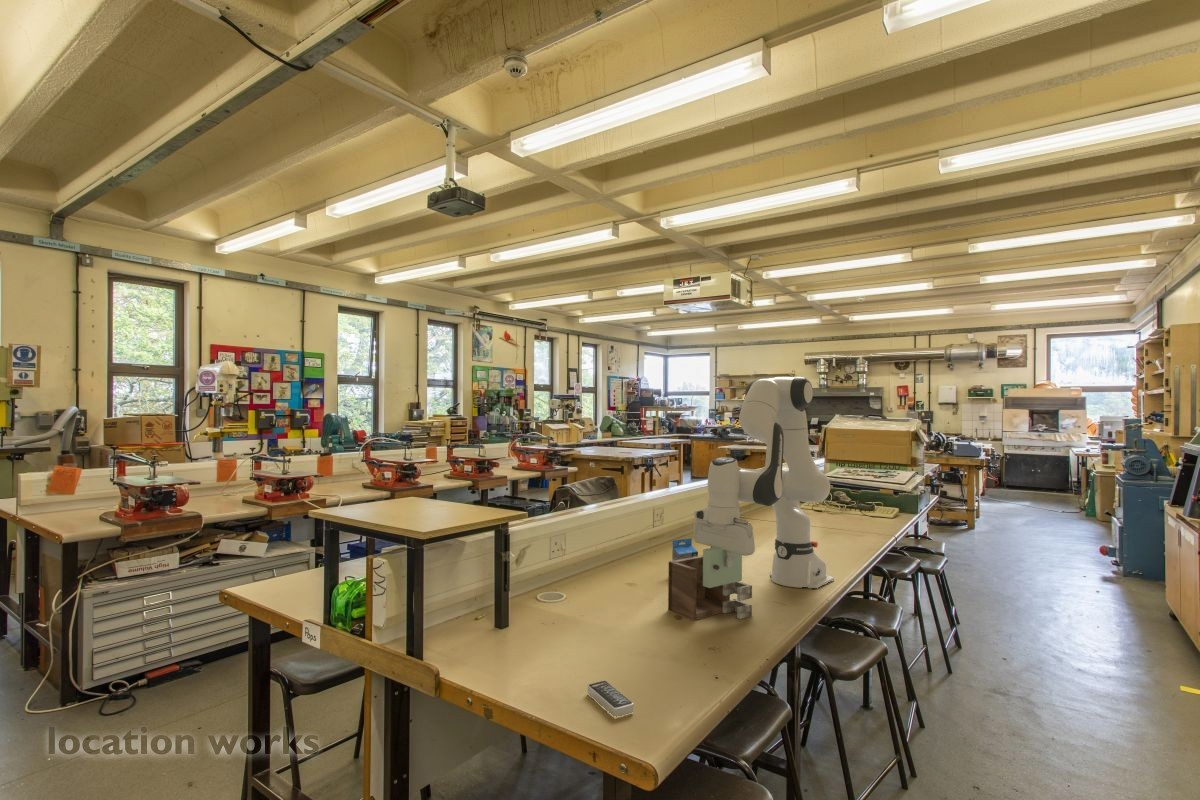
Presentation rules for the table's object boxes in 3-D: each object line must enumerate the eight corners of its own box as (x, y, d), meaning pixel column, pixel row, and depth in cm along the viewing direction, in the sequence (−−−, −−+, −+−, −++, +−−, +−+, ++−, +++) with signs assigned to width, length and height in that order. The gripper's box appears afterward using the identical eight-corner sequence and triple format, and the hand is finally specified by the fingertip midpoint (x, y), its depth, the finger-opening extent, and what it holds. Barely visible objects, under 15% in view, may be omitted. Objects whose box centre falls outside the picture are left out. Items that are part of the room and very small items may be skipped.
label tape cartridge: (678, 578, 198) (678, 542, 198) (671, 575, 201) (671, 540, 202) (698, 574, 202) (698, 540, 203) (691, 572, 206) (691, 538, 206)
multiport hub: (614, 721, 106) (614, 709, 106) (586, 696, 115) (586, 684, 115) (634, 715, 108) (634, 703, 108) (605, 691, 118) (605, 679, 118)
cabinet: (709, 599, 175) (710, 554, 176) (751, 615, 162) (752, 566, 162) (668, 609, 166) (668, 561, 166) (709, 627, 152) (709, 575, 152)
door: (735, 578, 165) (735, 543, 165) (745, 581, 162) (745, 546, 162) (702, 585, 157) (703, 549, 157) (712, 589, 154) (712, 552, 154)
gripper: (760, 520, 154) (759, 571, 153) (705, 509, 170) (705, 555, 170) (744, 522, 150) (743, 575, 150) (690, 511, 167) (689, 558, 167)
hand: (722, 564), depth 160 cm, fingers closed on door, 2 cm apart
